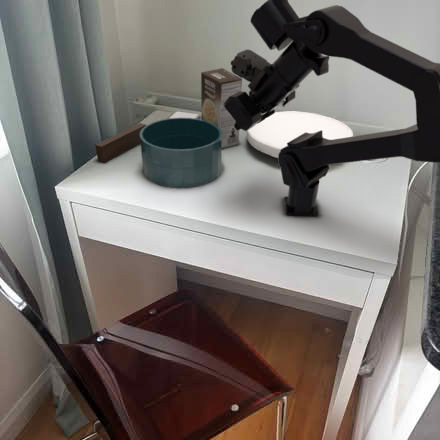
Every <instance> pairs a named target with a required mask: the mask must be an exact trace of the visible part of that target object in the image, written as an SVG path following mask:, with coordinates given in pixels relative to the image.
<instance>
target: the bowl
mask: <svg viewBox="0 0 440 440" xmlns="http://www.w3.org/2000/svg"><path fill="white" fill-rule="evenodd" d="M167 118H168V119H167ZM167 118H162V119H159V120H156V121H151V122H150V123H148V124H145V125H146V126H145V127H144V128H143V129H141V132H140V144H139V145H140V153H141V162H142V163H141V164H142V169H143V174H144V176H145V178H146V179H148V180H149V181H151V182H152V183H154V184H157V185H161V186H163V187H169V188H176V189H177V188H179V189H180V188H181V189H182V188H185V189H186V188H195V187H200V186H204V185H207V184H209V183H210V182H213V181H214V180H216V179H217V178H218V177H219V176H220V175H221V172H222V162H223V161H222V160H223V159H222V158H223V157H222V156H223V154H222V153H223V148H222V131H221V129H220V128H219V127H218V126H216V125H215V124H213V123H211V122H208V121H205V120H201V118H198V119H195V118H169V117H167Z"/></svg>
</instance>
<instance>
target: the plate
mask: <svg viewBox="0 0 440 440" xmlns="http://www.w3.org/2000/svg"><path fill="white" fill-rule="evenodd" d="M321 130H322V135H323V138H325V139H328V140H333V139H340V138H346V137H353V136H354V132H353V130H352V128H350V127H349V126H348V125H347V124H345V123H343V122H342V121H340V120H337V119H335V118H333V117H329V116H326V115H322V114H319V113H313V112H306V111H298V110H297V111H292V110H289V111H275V113H274V114H273V115H271V116H269V117H267V118H265V120H263V121H262V122H260V123H258V124H256V125H255V126H253V127H252V128H250V129H249V130H247V131H245V133H246V134H245V135H246V139H247V142H248V143H249V144H250V146H252V147H253V148H254V149H256V150H257V151H260V152H261V153H263V154H266V155H268V156H270V157H273V158H277V159H278V156H279V153H280V150H281V149H282V148H284V147H286V146H287V143H288V142H290V141H292V140H293V139H295V138H297V137H299V136H300V135H302V134H304V133H305V132H306V133H315V132H318V131H321Z"/></svg>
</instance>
